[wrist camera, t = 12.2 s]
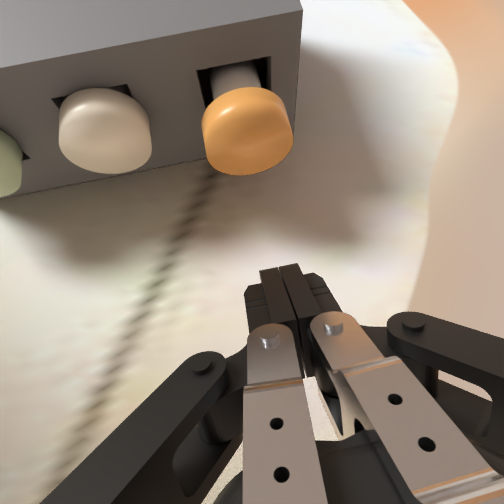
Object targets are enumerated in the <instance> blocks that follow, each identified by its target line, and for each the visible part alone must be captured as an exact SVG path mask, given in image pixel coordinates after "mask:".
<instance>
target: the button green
mask: <svg viewBox="0 0 504 504" xmlns="http://www.w3.org/2000/svg"><path fill="white" fill-rule="evenodd" d="M22 160H23V153H22V150H21V148H20V146H19V145H18V143H17V142H16V141H15V140H14V139H13V138H11V137H10V136H9V135H7V134H6V133H4V132H3V131H1V130H0V197H4V196H7V195H10V194H12V193H14V192H15V191H17V190H18V189H19V187H20V186H21V178H22Z"/></svg>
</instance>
